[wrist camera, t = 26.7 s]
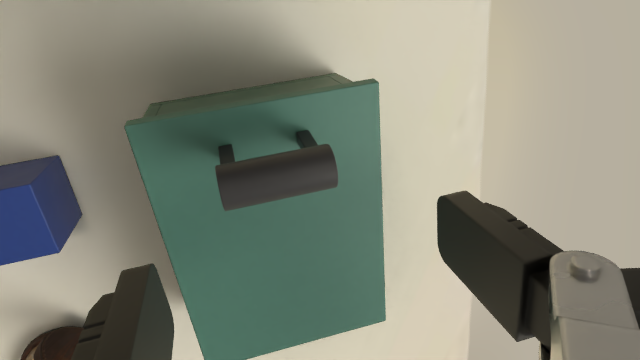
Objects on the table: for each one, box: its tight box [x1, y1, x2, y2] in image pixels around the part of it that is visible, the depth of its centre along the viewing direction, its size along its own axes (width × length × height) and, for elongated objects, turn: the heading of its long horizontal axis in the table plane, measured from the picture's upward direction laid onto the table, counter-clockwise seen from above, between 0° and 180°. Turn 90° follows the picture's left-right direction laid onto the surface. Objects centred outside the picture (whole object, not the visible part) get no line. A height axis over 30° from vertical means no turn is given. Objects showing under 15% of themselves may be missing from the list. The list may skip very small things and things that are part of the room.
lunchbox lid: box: [125, 79, 386, 360], centre depth 23 cm, size 17×13×6 cm
